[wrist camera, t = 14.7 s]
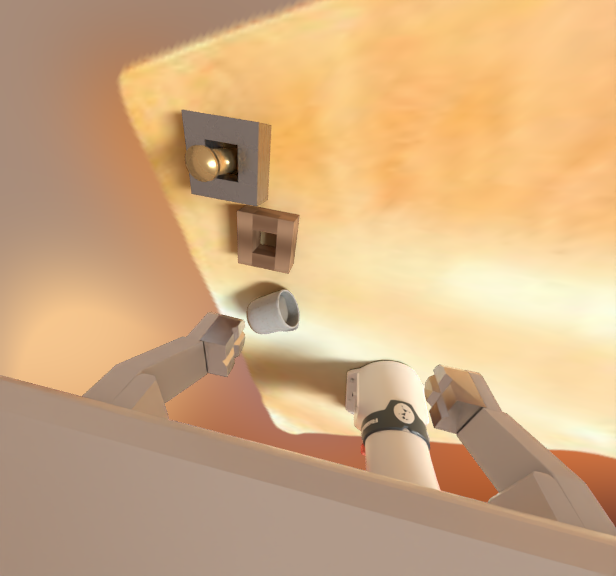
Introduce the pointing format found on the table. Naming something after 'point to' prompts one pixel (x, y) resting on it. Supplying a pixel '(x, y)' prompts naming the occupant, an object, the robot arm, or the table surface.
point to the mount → (271, 222)
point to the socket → (251, 156)
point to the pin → (210, 162)
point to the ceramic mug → (273, 313)
